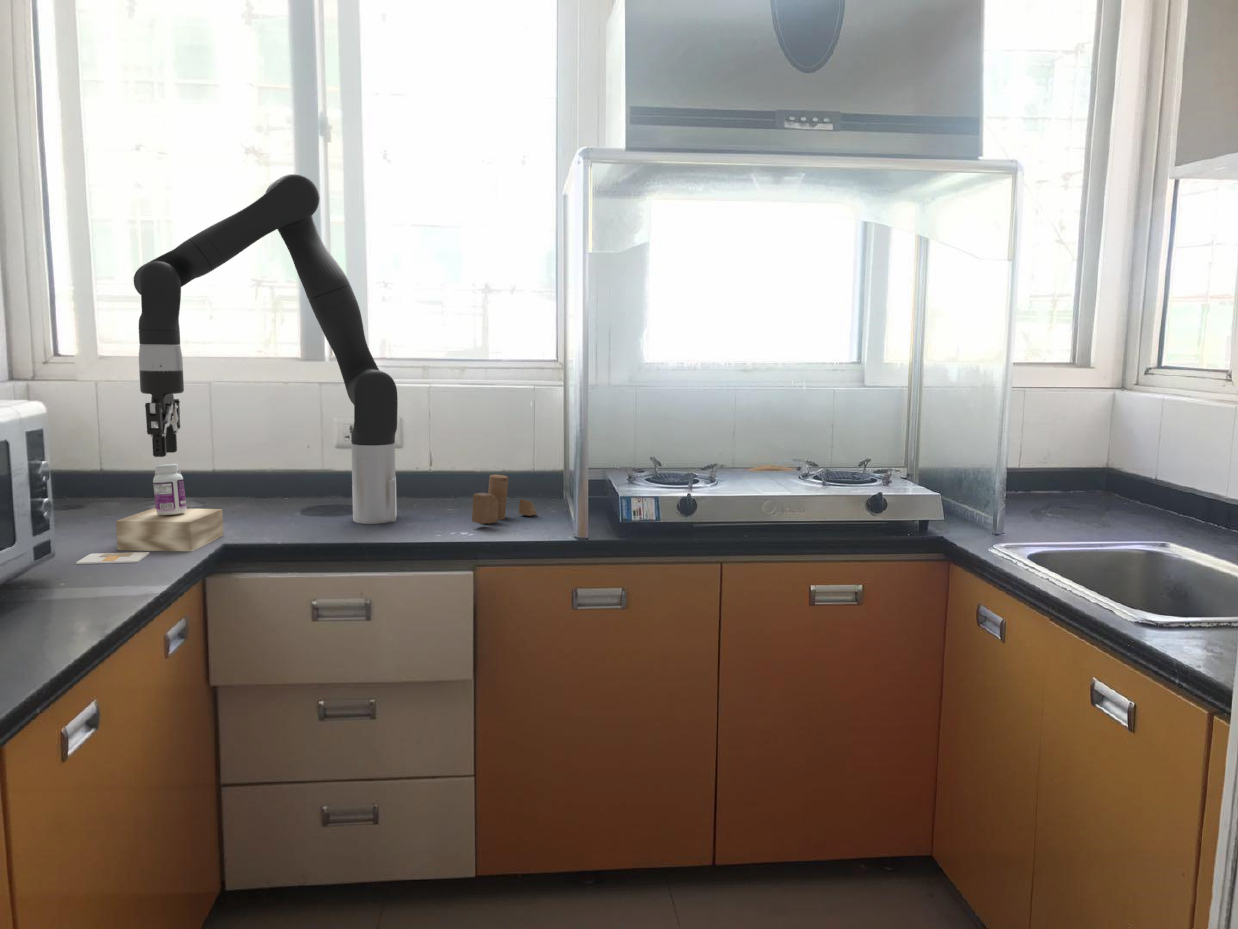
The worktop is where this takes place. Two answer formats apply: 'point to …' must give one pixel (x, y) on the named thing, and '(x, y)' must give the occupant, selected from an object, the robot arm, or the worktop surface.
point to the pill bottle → (169, 490)
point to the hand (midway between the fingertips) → (165, 454)
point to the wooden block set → (496, 502)
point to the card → (113, 558)
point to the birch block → (169, 530)
